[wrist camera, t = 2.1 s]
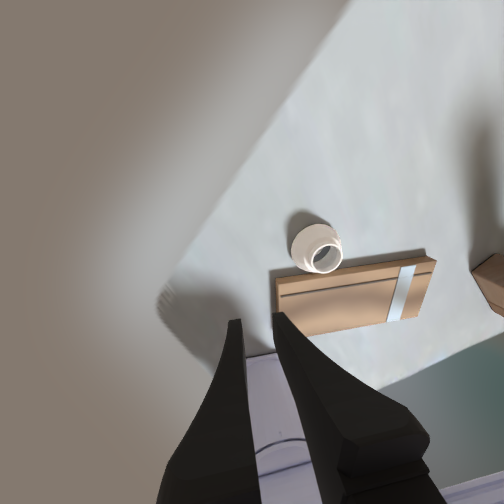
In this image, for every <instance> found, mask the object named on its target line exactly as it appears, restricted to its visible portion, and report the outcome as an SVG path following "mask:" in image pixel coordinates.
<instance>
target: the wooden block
mask: <svg viewBox="0 0 504 504" xmlns="http://www.w3.org/2000/svg"><path fill="white" fill-rule="evenodd" d="M472 275H473V276H474V278H475V280H476V282H477V283H478V285H479V287H480V288H481V290H482V292H483V294H484V295H485V297H486V299H487V301H488V303H489V305H490V306H491V308H492V310H493V311H494V312H495V313H497V314H499V315H501V316H503V317H504V256H503V255H500V254H494V255H493V256H492V257H490V258H489V259H488V260H486V261H485V262H484V263H483V264H481V265H480V266H479V267H477V268H476V269H475V270H473V271H472Z"/></svg>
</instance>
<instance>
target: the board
mask: <svg viewBox="0 0 504 504" xmlns="http://www.w3.org/2000/svg"><path fill="white" fill-rule="evenodd" d="M436 262H437V261H436V260H434V259H432V258H430V257H428V256H424V257H417V258H410V259H404V260H397V261H390V262H383V263H377V264H370V265H363V266H356V267H350V268H343V269H336V270H333V271H331V272H329V273H324V274H322V273H309V274H302V275H296V276H289V277H282V278H276V313H277V312H284V313H285V314H286V315H287V317H288V318H289V319H290V320H291V321H292V323H293V324H294V325H295V326H296V327H297V328H298V329H299V330H300V331H301V332H302V333H303V334H304V335H305V336H306V337H308V336H314V335H319V334H325V333H330V332H336V331H341V330H347V329H352V328H357V327H363V326H368V325H374V324H379V323H385V322H391V321H396V320H401V319H406V318H412V317H417V316H418V313H419V311H420V308H421V305H422V302H423V299H424V296H425V293H426V291H427V288H428V285H429V282H430V279H431V276H432V273H433V270H434V268H435V265H436Z"/></svg>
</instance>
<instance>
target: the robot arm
mask: <svg viewBox="0 0 504 504" xmlns="http://www.w3.org/2000/svg"><path fill="white" fill-rule="evenodd" d="M272 316H273V340H274V344H275V348H276V351H277V353H274V354H268V355H263V356H258V357H253V358H247V359H246V356H245V348H244V339H243V331H242V324H241V319H235V320H230V321H229V322H228V330H227V336H226V340H225V344H224V348H223V352H222V355H221V358H220V361H219V364H218V367H217V370H216V373H215V375H214V378H213V380H212V383H211V385H210V388H209V390H208V392H207V394H206V396H205V398H204V401H203V402H202V405H201V406H200V409H199V410H198V412H197V414H196V416H195V418H194V420H193V421H192V423H191V425H190V427H189V429H188V431H187V432H186V434H185V436H184V437H183V439H182V441H181V442H180V444H179V445H178V447H177V449H176V450H175V452H174V454H173V455H172V457H171V458H170V460H169V462H168V464H167V466H166V469H165V473H164V475H163V479H162V482H161V485H160V489H159V493H158V497H157V502H156V504H504V471H501V472H498V473H495V474H491V475H487V476H484V477H481V478H477V479H474V480H470V481H467V482H463V483H460V484H457V485H454V486H450V487H447V488H443V489H440V490H438V489H437V487H436V486H435V484H434V483H433V481H432V480H431V478H430V477H429V475H428V473H429V472H430V471H429V468H428V467H427V465H426V464H425V462H424V461H423V459H422V456H423V455H424V453H425V451H426V449H427V447H428V446H429V443H430V437H429V434H428V433H427V432H426V430H425V429H424V428H423V427H422V425H421V424H420V423H419V421H418V420H417V419H416V418H415V416H414V415H413V414H412V413H411V412H410V411H409V410H408V408H407V407H405V406H403V405H401V404H400V403H398V402H396V401H394V400H392V399H390V398H389V397H387V396H385V395H383V394H381V393H379V392H378V391H376V390H374V389H373V388H371V387H369V386H368V385H366V384H365V383H363V382H362V381H360V380H359V379H357V378H356V377H354V376H353V375H351V374H350V373H348V372H347V371H345V370H344V369H343V368H341V367H340V366H339V365H337V364H336V363H335V362H333V361H332V360H331V359H330V358H328V357H327V356H326V355H325V354H324V353H323V352H321V351H320V350H319V349H318V348H317V347H316V346H315V345H314V344H313V343H312V342H311V341H310V340H308V338H307V337H306V336H305V335H304V334H303V333H302V332H301V331H300V330H299V329H298V328H297V327H296V326H295V325H294V324H293V323H292V321H291V320H290V319H289V318H288V317H287V315H286V314H285V313H284V312H277V313H272Z"/></svg>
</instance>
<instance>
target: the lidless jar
mask: <svg viewBox="0 0 504 504" xmlns="http://www.w3.org/2000/svg"><path fill="white" fill-rule="evenodd" d="M329 245H331V246H330V249H329V252H328V253H327V254H326V256H325V257H324V258H322V259H321V260H319V261H317V262H313V258H314V256H315V255H317V254H319V253H320V252H321V250H322V248H323V247H325V246H329ZM291 255H292V260H293V261H294V262H295V264H296V265H297V266H298V267H299V268H301V269H303V270H305V271H308V272H315V273H322V274H324V273H329V272H331V271H333V270H335V269H336V268H337V267H338V266H339V264H340V263H341V261H342V257H343V253H342V247H341V241H340V237H339V235H338V233H337V232H336V230H334V229H333V228H331V227H329V226H328V225H325V224H314V225H311V226H308V227H306V228H305V229H303V230H302V231H301V232H299V233H298V235H297V236H296V238H295V239H294V241H293V243H292V248H291Z"/></svg>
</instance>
